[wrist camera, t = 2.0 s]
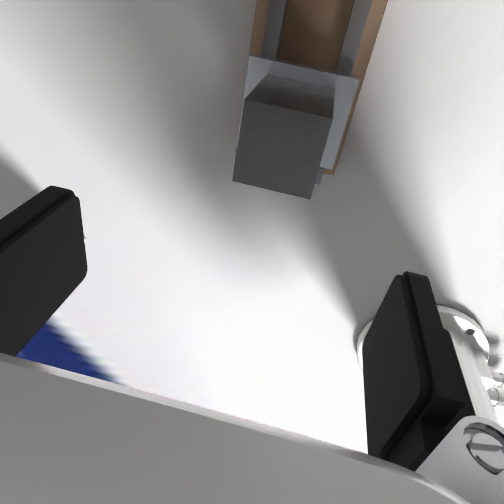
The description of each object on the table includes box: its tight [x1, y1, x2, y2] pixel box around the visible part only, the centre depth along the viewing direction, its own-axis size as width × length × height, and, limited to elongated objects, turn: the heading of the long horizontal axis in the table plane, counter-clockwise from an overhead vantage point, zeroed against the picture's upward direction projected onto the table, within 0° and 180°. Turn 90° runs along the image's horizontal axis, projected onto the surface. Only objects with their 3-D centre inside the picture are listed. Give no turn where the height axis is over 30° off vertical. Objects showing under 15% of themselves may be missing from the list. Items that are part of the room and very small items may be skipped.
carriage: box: [232, 53, 360, 199], centre depth 24 cm, size 7×6×10 cm
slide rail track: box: [235, 0, 388, 184], centre depth 24 cm, size 8×22×4 cm, turn 170°
